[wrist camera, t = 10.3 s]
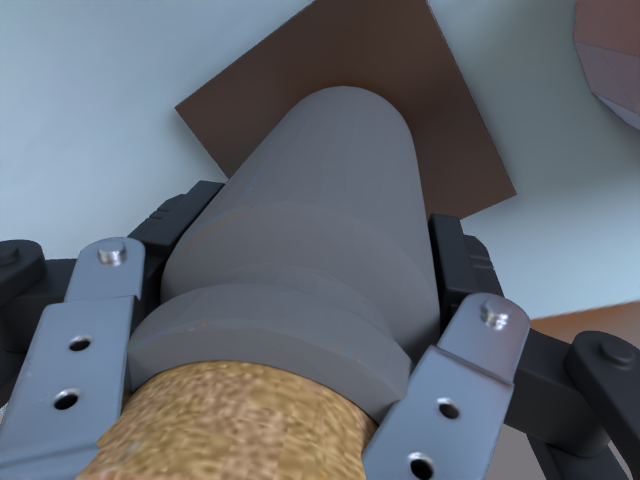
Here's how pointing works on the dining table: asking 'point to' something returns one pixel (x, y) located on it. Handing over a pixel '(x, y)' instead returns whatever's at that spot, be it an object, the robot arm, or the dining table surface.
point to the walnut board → (367, 73)
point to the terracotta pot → (611, 53)
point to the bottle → (286, 309)
